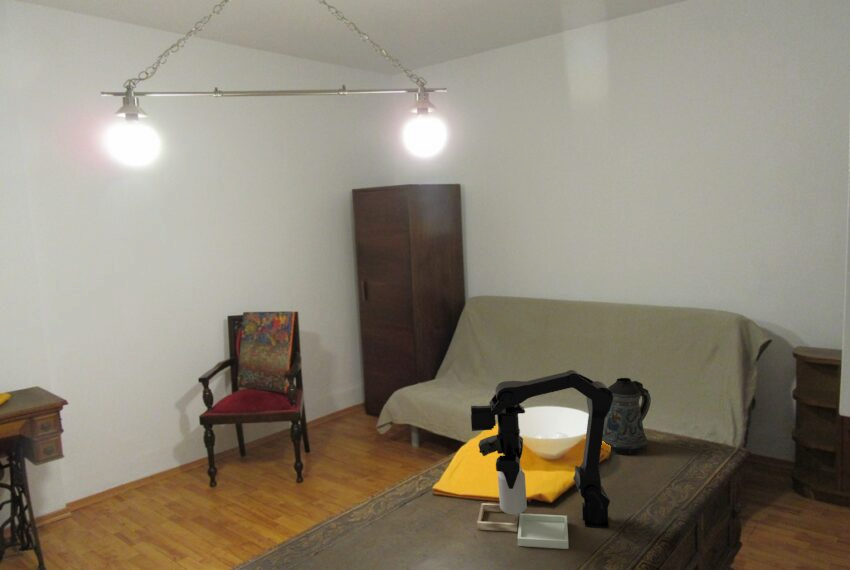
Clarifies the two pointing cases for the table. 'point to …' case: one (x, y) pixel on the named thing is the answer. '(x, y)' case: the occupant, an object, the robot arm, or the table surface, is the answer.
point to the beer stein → (626, 418)
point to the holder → (495, 525)
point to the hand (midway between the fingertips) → (511, 482)
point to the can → (512, 494)
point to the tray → (543, 531)
